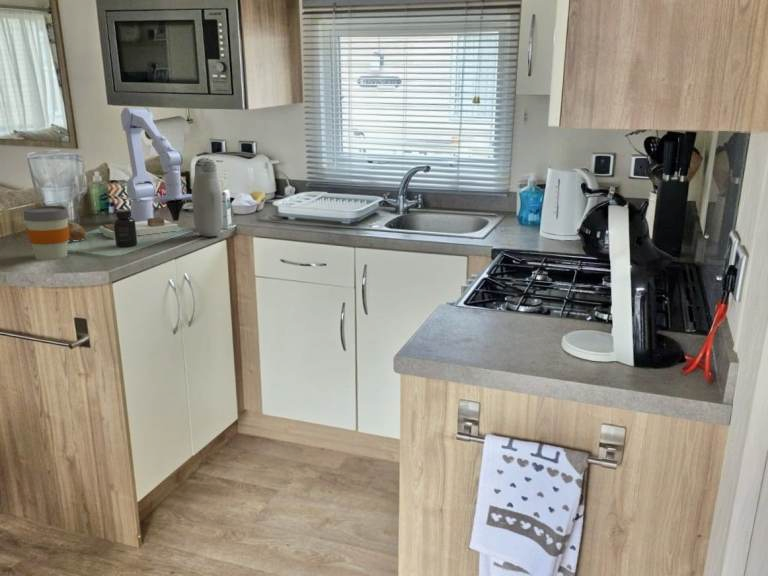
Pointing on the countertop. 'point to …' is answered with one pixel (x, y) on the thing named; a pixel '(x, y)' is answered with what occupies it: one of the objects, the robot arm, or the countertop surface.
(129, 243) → the supplement bottle
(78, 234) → the bread roll
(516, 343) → the countertop surface
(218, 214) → the grey bottle
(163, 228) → the board
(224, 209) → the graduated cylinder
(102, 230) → the tray
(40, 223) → the reusable coffee cup
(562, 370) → the countertop surface
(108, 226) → the tile
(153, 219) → the tile
